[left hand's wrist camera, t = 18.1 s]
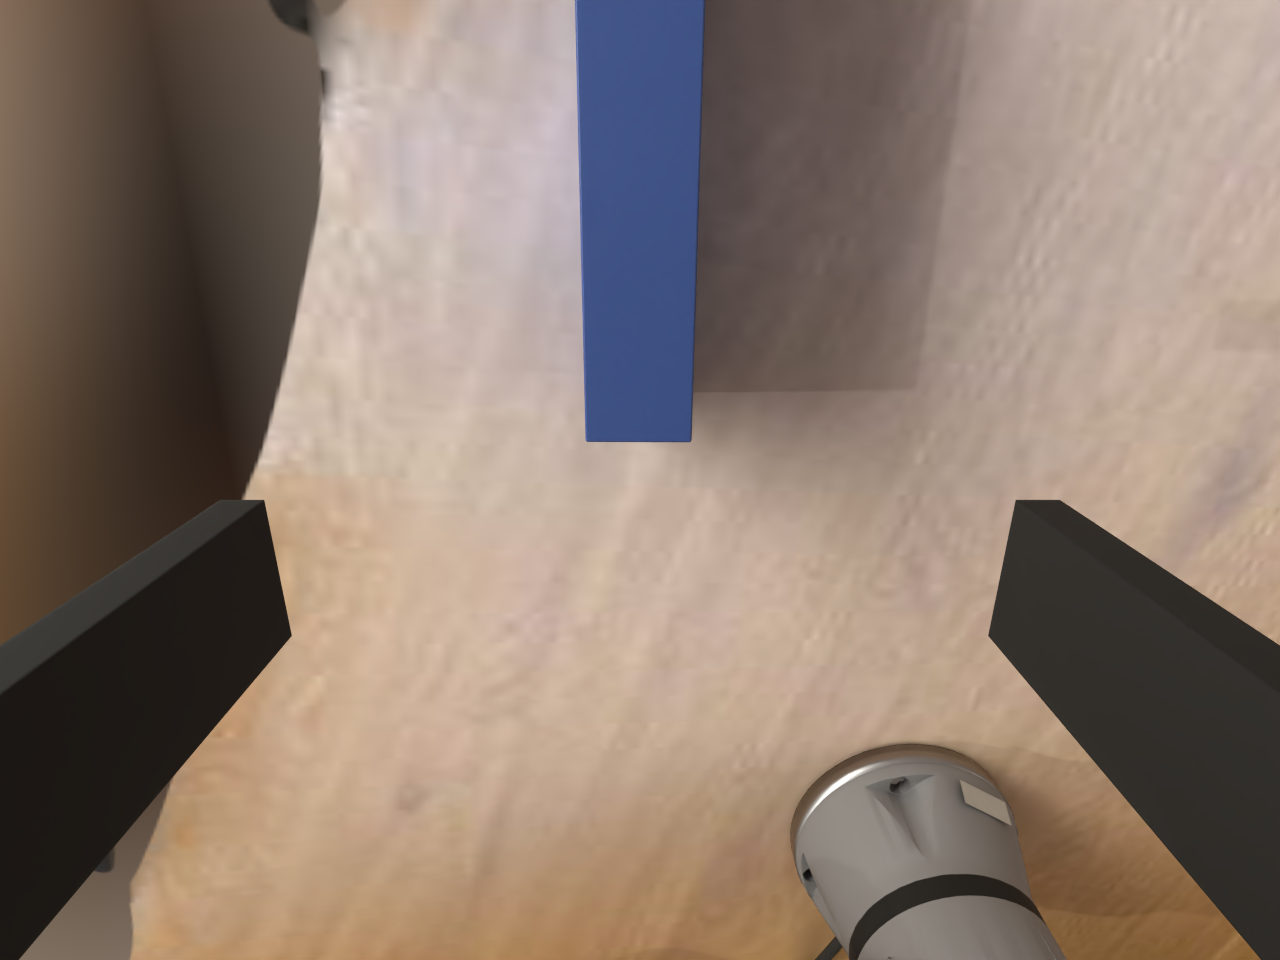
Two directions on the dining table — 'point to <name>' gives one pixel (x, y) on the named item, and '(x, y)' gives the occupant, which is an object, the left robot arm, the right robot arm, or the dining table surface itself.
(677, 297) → the bar
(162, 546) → the left robot arm
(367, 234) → the dining table surface
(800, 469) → the dining table surface
